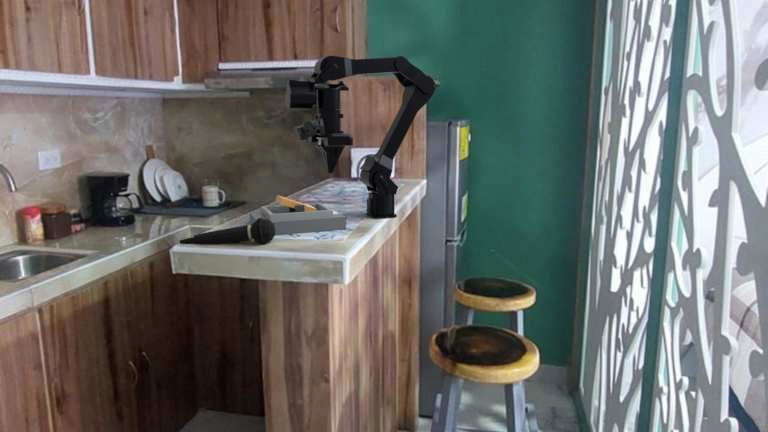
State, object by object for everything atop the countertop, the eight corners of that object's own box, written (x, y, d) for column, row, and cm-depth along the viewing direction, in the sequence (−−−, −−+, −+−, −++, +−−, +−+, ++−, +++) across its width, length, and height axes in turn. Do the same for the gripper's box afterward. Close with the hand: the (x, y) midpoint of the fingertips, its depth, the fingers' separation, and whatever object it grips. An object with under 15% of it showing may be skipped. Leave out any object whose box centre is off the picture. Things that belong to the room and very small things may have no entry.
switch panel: (328, 218, 135) (328, 196, 134) (345, 229, 122) (345, 205, 121) (250, 224, 127) (248, 200, 126) (259, 236, 115) (258, 210, 113)
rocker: (310, 211, 128) (312, 205, 128) (315, 215, 123) (317, 209, 123) (275, 200, 124) (277, 194, 124) (279, 203, 120) (281, 197, 119)
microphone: (180, 260, 107) (276, 248, 108) (172, 236, 105) (270, 224, 105) (187, 246, 112) (279, 234, 112) (179, 223, 109) (273, 211, 110)
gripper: (288, 109, 133) (290, 170, 136) (306, 109, 116) (308, 178, 119) (330, 110, 137) (331, 169, 140) (353, 109, 120) (354, 176, 123)
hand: (330, 173), depth 131 cm, fingers closed
